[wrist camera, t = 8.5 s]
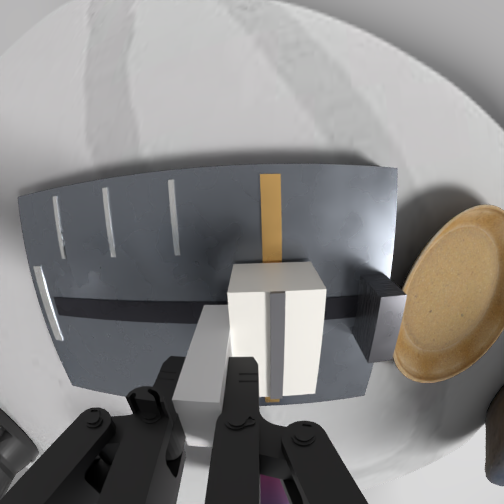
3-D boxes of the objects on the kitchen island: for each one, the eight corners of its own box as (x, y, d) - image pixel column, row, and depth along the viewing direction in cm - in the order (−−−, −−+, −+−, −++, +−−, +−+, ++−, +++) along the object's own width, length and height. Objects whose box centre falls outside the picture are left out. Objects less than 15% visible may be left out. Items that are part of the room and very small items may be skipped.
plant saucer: (520, 269, 17) (537, 278, 15) (432, 384, 21) (443, 400, 18) (457, 157, 15) (480, 158, 12) (337, 319, 18) (348, 340, 16)
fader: (239, 357, 16) (236, 399, 13) (233, 264, 14) (226, 294, 11) (305, 354, 16) (315, 396, 13) (310, 261, 14) (327, 290, 11)
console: (81, 372, 20) (57, 407, 15) (35, 193, 16) (-12, 204, 11) (357, 378, 20) (375, 423, 15) (382, 167, 15) (427, 169, 10)
